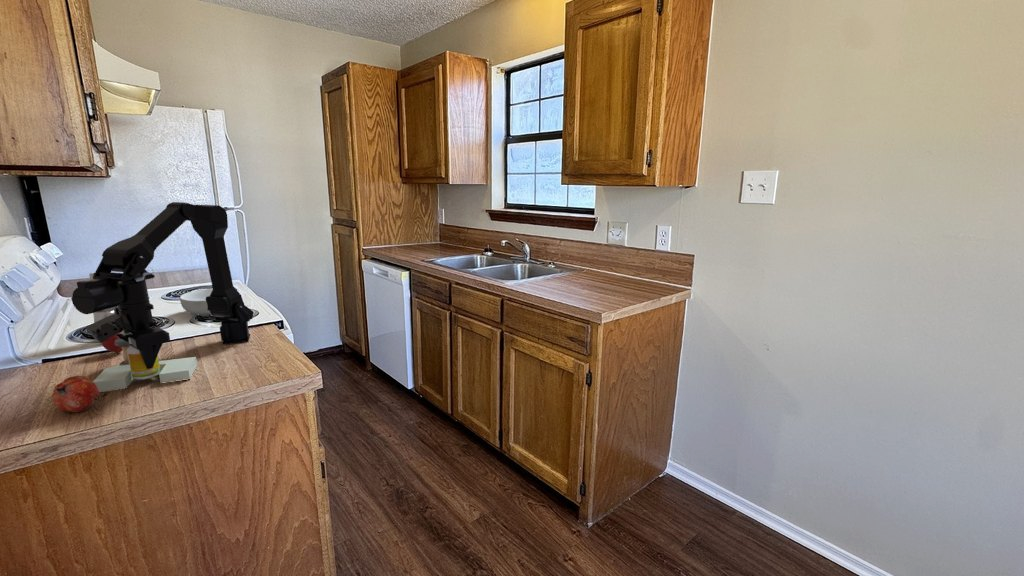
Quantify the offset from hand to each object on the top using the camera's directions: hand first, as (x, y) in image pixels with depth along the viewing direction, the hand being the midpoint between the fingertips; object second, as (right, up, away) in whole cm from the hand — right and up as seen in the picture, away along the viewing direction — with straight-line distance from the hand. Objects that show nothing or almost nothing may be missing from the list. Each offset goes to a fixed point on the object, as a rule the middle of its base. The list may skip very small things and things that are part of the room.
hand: (145, 365), depth 109 cm
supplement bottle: (0, -3, +1) cm, 3 cm away
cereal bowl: (-18, +9, +53) cm, 57 cm away
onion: (-21, 0, +17) cm, 26 cm away
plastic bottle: (-30, +3, +25) cm, 39 cm away
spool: (-10, -1, +10) cm, 14 cm away
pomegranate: (-4, -7, -12) cm, 15 cm away
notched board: (-1, -4, +2) cm, 4 cm away
